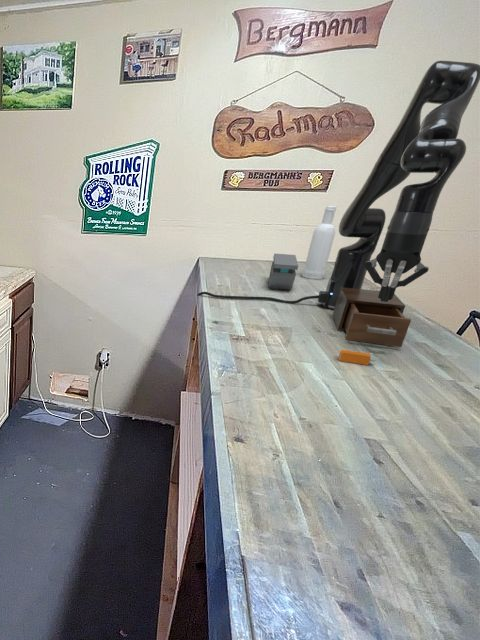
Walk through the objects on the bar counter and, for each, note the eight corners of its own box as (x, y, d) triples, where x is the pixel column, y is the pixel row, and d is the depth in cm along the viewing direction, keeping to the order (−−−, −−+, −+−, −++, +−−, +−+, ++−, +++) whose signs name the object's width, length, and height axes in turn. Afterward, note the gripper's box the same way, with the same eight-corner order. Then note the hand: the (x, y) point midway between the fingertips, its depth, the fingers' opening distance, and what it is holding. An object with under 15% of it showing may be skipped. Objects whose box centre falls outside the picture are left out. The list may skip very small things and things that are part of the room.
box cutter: (339, 360, 117) (341, 352, 116) (338, 357, 119) (341, 349, 118) (373, 366, 114) (377, 357, 113) (372, 363, 116) (375, 354, 115)
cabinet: (394, 337, 133) (405, 305, 129) (337, 330, 139) (347, 299, 135) (383, 321, 146) (393, 292, 142) (332, 315, 152) (340, 287, 148)
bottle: (320, 275, 205) (339, 205, 193) (325, 279, 198) (345, 207, 186) (299, 274, 207) (317, 205, 195) (304, 278, 200) (322, 206, 188)
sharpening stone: (291, 293, 177) (298, 265, 173) (268, 291, 181) (274, 263, 176) (289, 280, 197) (295, 255, 193) (268, 278, 201) (274, 253, 197)
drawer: (405, 353, 120) (415, 324, 117) (347, 344, 125) (356, 317, 122) (389, 330, 136) (398, 304, 133) (339, 323, 141) (346, 299, 138)
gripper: (444, 231, 108) (419, 302, 115) (375, 227, 116) (354, 293, 123) (443, 235, 103) (416, 309, 110) (370, 230, 111) (350, 299, 118)
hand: (384, 300), depth 116 cm, fingers closed
